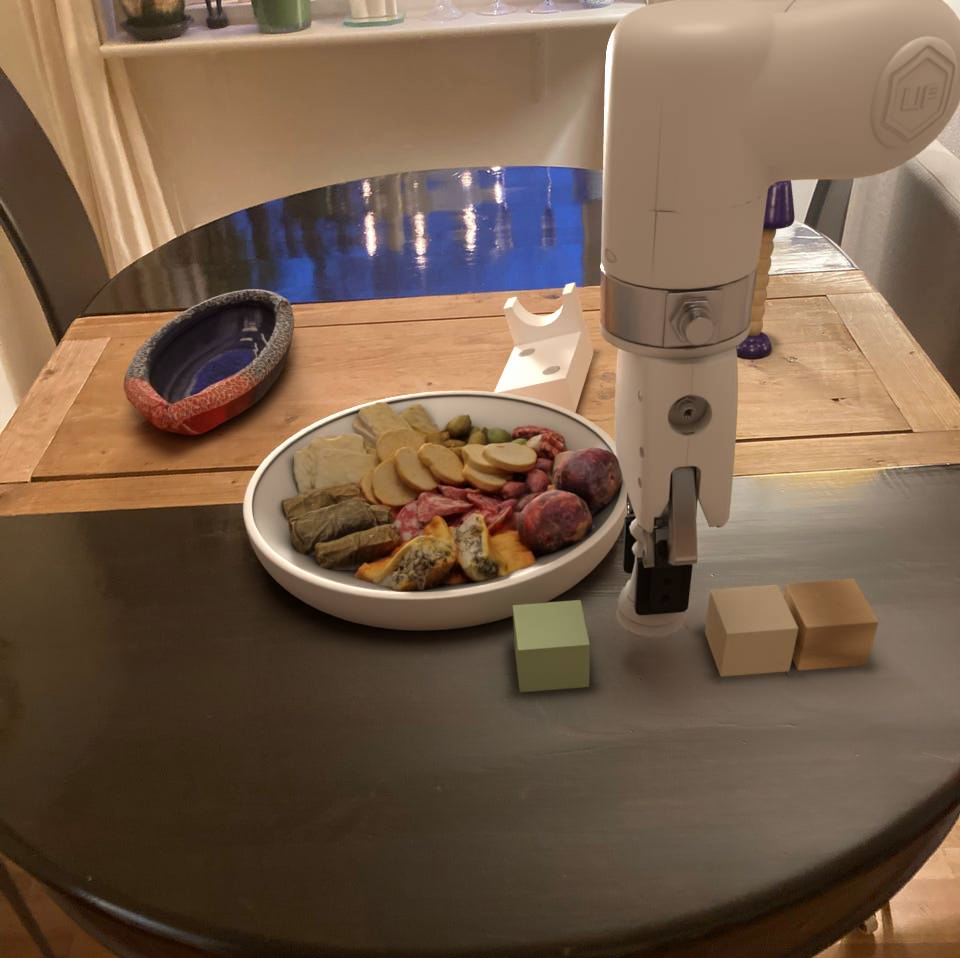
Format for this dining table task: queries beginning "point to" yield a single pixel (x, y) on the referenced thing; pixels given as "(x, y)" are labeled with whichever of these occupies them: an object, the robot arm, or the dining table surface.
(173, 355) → the dish
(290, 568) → the bowl
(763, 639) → the cream block
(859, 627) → the birch block
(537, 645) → the sage block
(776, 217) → the toy lamp
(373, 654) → the dining table surface
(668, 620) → the rook chess piece
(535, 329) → the bracket
